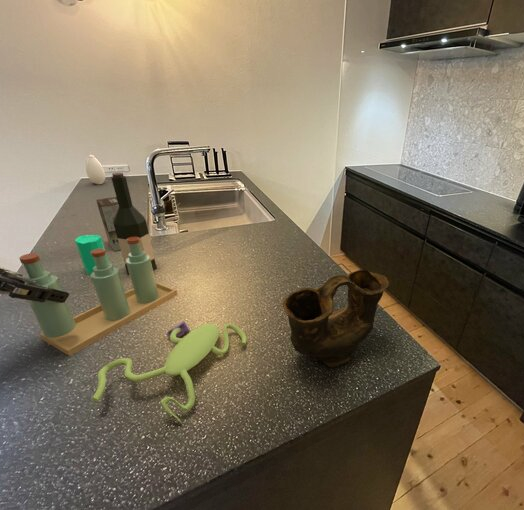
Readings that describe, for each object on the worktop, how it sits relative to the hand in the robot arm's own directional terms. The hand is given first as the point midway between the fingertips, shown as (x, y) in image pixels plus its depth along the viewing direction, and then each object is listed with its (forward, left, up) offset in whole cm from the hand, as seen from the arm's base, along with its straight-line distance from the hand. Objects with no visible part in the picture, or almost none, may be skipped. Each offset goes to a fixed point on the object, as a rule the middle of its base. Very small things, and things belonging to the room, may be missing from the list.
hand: (57, 293), depth 63 cm
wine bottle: (+23, +19, -12) cm, 33 cm away
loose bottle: (-2, 0, -8) cm, 8 cm away
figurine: (+9, -26, -12) cm, 30 cm away
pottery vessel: (+34, -47, -12) cm, 60 cm away
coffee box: (+27, +42, -12) cm, 52 cm away
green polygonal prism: (+15, +29, -12) cm, 35 cm away
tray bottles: (+13, +2, -12) cm, 18 cm away
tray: (+9, +2, -12) cm, 15 cm away
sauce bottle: (+53, +129, -12) cm, 140 cm away
